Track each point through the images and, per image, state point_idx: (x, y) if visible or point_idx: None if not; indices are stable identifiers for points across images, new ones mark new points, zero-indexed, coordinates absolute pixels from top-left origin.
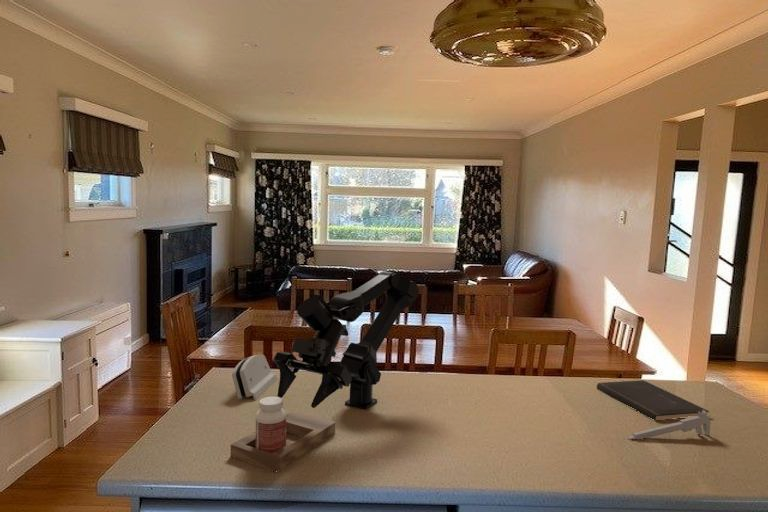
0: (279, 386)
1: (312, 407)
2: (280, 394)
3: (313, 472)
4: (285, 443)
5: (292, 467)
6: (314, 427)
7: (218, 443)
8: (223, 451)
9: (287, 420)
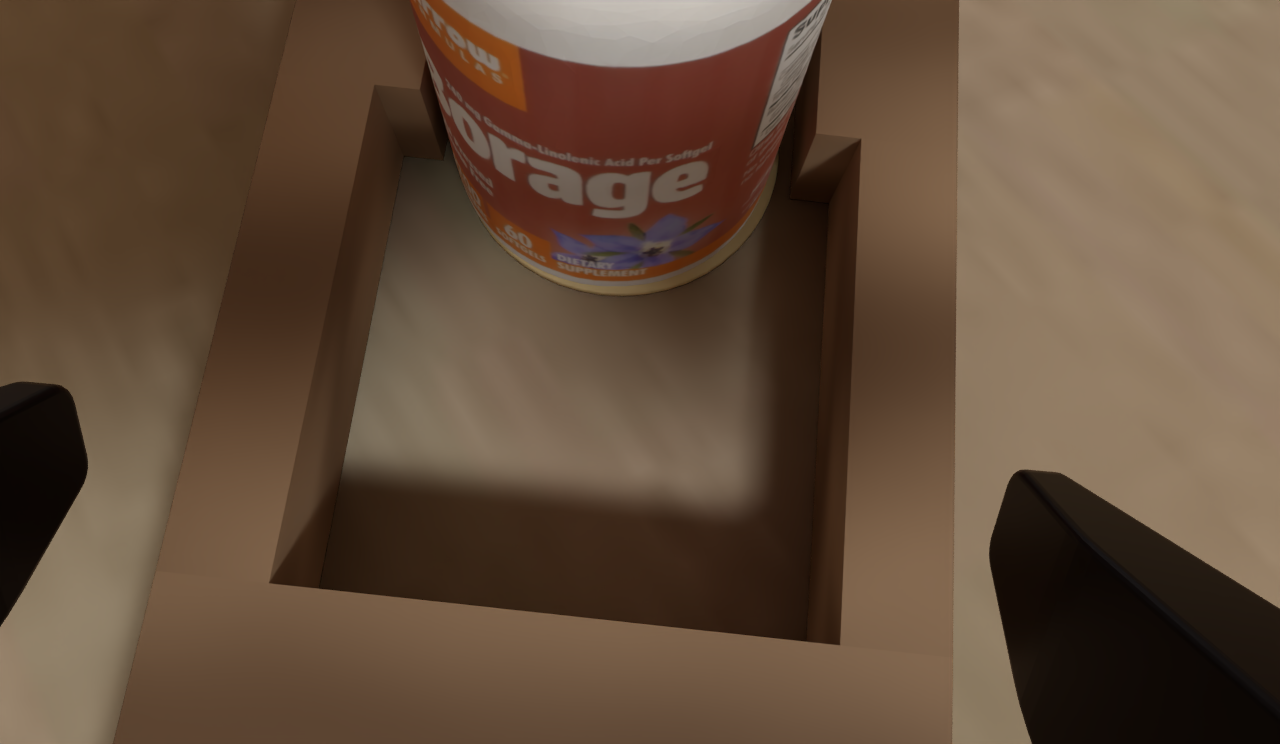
0: (1242, 600)
1: (76, 440)
2: (1030, 525)
3: (50, 34)
4: (447, 132)
5: (278, 33)
6: (296, 655)
7: (1215, 119)
8: (1046, 22)
9: (798, 692)
